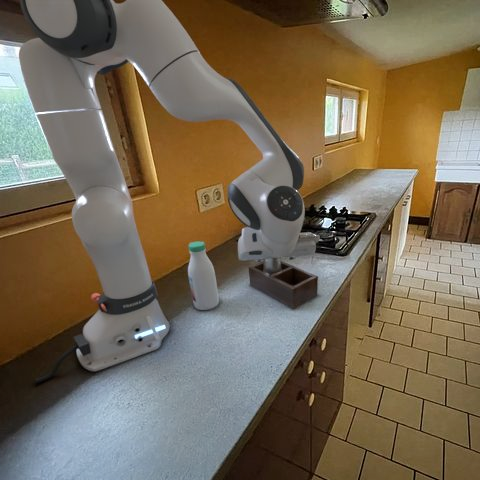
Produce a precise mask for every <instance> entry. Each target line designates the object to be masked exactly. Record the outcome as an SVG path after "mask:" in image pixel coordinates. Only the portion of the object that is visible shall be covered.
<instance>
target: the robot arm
mask: <svg viewBox="0 0 480 480" xmlns="http://www.w3.org/2000/svg"><path fill="white" fill-rule="evenodd" d="M19 4H20V9H21V12H22V14H23V17H24V19H25V20H26V23H27V24H28V26H29V28H30V29H31V30H32V31H33V33H34V34H35V35H36V36H37V37H34V38H31V39H29V40H27V41H26V42H24V43H23V44H22V45H21V46H20V49H19V51H18V60H19V65H20V69H21V70H20V71H21V74H22V78H23V83H24V86H25V89H26V93H27V96H28V98H29V101H30V104H31V107H32V110H33V112H34V114H35V117H36V120H37V122H38V125H39V127H40V129H41V132H42V134H43V137H44V139H45V141H46V144H47V146H48V149H49V151H50V153H51V156H52V159H53V161H54V162H55V164H56V165H57V166H58V168H59V170H60V171H61V173H62V175H63V176H64V178H65V180H66V181H67V183H68V185H69V188H70V189H71V191H72V194H73V195H74V198H75V203H74V204H73V206H72V209H71V221H72V225H73V228H74V231H75V233H76V235H77V236H78V238H79V240H80V242H81V244H82V245H83V248H84V249H85V251H86V253H87V255H88V256H89V258H90V260H91V262H92V264H93V266H94V269H95V272H96V275H97V278H98V280H99V282H100V286H101V288H102V291H103V292H102V293H101V294H100V293H98V292H94V293H93V294H91V296H90V299H91V300H92V302H93V303H95V304H97V306H98V310H97V311H96V312H95V314H93V316H92V317H91V318H90V319H89V320H88V321H87V322H86V323H85V324H84V326H83V328H82V333H79V334H78V335H75V336H73V340H74V342H75V343H74V344H75V345H74V346H72V347H71V348H69V349H68V350H66V351H65V352H64V353H63V354H62V355H61V356H60V357H59V358H58V359H57V360H56V361H55V363H54V365H53V367H52V369H51V370H50V372H48V373H47V374H46V375H43V376H40V377H38V378H36V379H34V381H35V383H36V384H39V383H42V382H44V381H47V380H49V379H50V378H51V377H53V376H54V375H55V374H56V373H57V371H58V369H59V368H60V365H61V364H62V363H63V361H64V360H65V359H66V358H68V357H69V356H70V355H72V354H73V353H74V352H75V351H76V356H77V360H78V362H79V364H80V366H82V367H83V368H84V369H86V370H87V371H90V372H98V371H102V370H105V369H108V368H109V367H112V366H115V365H118V364H121V363H123V362H126V361H129V360H132V359H134V358H137V357H140V356H143V355H145V354H147V353H151V352H153V351H156V350H158V349H160V347H161V344H162V342H163V339H165V337H166V336H167V335H168V333H169V331H170V328H171V326H170V322H169V321H168V319H167V318H166V316H165V315H164V312H163V311H162V308H161V306H160V304H159V294H158V291H157V287H156V285H155V282H154V281H153V280H152V278H151V273H150V270H149V265H148V263H147V258H146V254H145V251H144V248H143V245H142V242H141V238H140V234H139V232H138V228H137V224H136V219H135V213H134V204H133V200H132V197H131V194H130V191H129V187H128V185H127V182H126V178H125V176H124V173H123V170H122V168H121V164H120V162H119V159H118V156H117V153H116V149H115V146H114V144H113V141H112V138H111V134H110V131H109V128H108V124H107V121H106V119H105V114H104V112H103V110H102V106H101V103H100V99H99V96H98V93H97V90H96V85H95V84H96V83H95V80H96V76H97V74H98V75H99V76H100V75H101V76H105V75H107V74H109V73H110V72H112V71H114V70H117V69H119V68H122V67H123V66H125V65H126V64H128V63H130V64H131V65H132V66H133V67H134V69H136V70H137V72H138V74H139V75H140V76H141V77H142V79H143V81H144V82H145V83H146V85H147V86H148V88H149V89H150V91H151V93H152V94H153V95H154V97H155V98H156V99H157V101H158V102H159V103H160V105H161V106H162V107H163V108H164V109H165V111H166V112H167V113H168V114H169V115H171V116H172V117H174V118H176V119H178V120H180V121H184V122H187V123H188V122H190V123H203V122H210V121H216V120H217V121H218V120H227V121H230V122H233V123H235V124H236V125H238V126H239V127H240V128H241V129H242V131H244V133H245V134H246V136H248V138H249V139H250V140H251V142H252V143H253V144H254V145H255V146H256V148H257V149H258V150H259V151H260V153H261V154H262V159H261V160H259V161H258V162H256V163H255V164H254V165H253V166H251V167H250V168H249V169H248V170H245V171H244V172H243V173H241V174H240V175H238V176H237V177H236V178H235V179H234V180H232V181H231V182H230V183H228V185H227V191H226V192H227V194H226V195H227V202H228V205H229V208H230V210H231V212H232V214H233V215H234V216H235V217H236V219H238V221H239V222H241V223H242V224H243V225H244V226H246V227H243V228H241V236H240V237H238V241H237V256H238V260H239V261H242V262H244V261H254V262H255V263H260V262H262V260H264V259H269V258H280V259H281V258H288V259H289V260H291V261H292V260H295V259H296V258H298V257H303V256H312V255H315V253H316V250H317V243H319V241H320V239H321V236H320V235H319V234H315V233H314V232H301V231H302V228H303V224H304V220H305V214H306V210H305V202H304V199H303V197H302V195H301V193H300V192H299V191H298V190H300V189H301V188H302V187H303V184H304V178H305V166H304V164H303V161H302V160H301V158H300V157H299V156H298V154H297V153H295V152H294V150H293V149H292V148H290V147H289V145H288V144H286V142H285V141H284V140H283V139H282V137H281V136H280V134H279V133H278V132H277V131H276V129H274V127H273V126H272V124H271V123H270V121H269V120H268V119H267V118H266V116H265V115H264V114H263V112H262V111H261V109H260V108H259V107H258V106H257V104H256V103H255V102H254V101H253V99H252V98H251V97H250V96H249V95H248V93H247V92H246V90H244V88H243V87H242V86H241V85H240V84H239V83H238V82H237V81H236V80H234V78H229V77H224V76H223V75H222V74H220V73H218V72H217V71H216V70H215V69H214V68H213V67H211V66H210V64H209V63H208V62H207V61H206V60H205V58H204V57H203V56H202V54H201V52H200V51H199V49H198V47H197V46H196V44H195V42H194V41H193V39H192V38H191V37H190V35H189V33H188V32H187V30H186V29H185V27H183V25H182V23H181V22H180V21H179V19H178V18H177V17H176V16H175V15H174V13H173V12H172V10H171V9H170V8H169V7H168V6H167V5H166V4H165V2H164V1H163V0H124V1H123V2H120V3H118V2H116V1H115V0H19Z"/></svg>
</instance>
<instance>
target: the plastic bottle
mask: <svg viewBox="0 0 480 480" xmlns="http://www.w3.org/2000/svg"><path fill="white" fill-rule="evenodd" d="M280 260H281V258H269V259H263V261H264V270H263V272H264V273H266V274H268V275H273V274H275V273H277V272H280V271H282V269H281V263H280Z"/></svg>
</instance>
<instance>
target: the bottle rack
mask: <svg viewBox="0 0 480 480" xmlns="http://www.w3.org/2000/svg"><path fill="white" fill-rule="evenodd" d="M280 263H281V269H282V271H280V272H277V273H275V274H273V275H268V274H266V273H264V272H263V270H264V260H263V261H261V262H257V263H256V264H254V265H251V266H248V274H249V275H248V276H249V286H250V287H252V288H254V289H255V290H257V291H259V292H261V293H263V294H264V295H267V296H268V297H270V298H272V299H273V300H275V301H276V302H279V303H281V304H282V305H284V306H286V307H288V308H290V309H291V310H295V309H297V308H298V307H300V306H302V305H304V304H306V303H307V302H309V301H311V300H312V299H315V297H317V296H318V291H319V290H318V285H319V276H318V275H316V274H313V273H311V272H309V271H306V270H305V269H302V268H300V267H297V266H294V265H293V264H290V263H287V262H285V261H283V260H281V259H280Z"/></svg>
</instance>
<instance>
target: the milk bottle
mask: <svg viewBox="0 0 480 480" xmlns="http://www.w3.org/2000/svg"><path fill="white" fill-rule="evenodd" d="M187 247H188V252H189V254H190V259H189V262H188V266H187V275H188V277H187V278H188V281H189V288H190V292H191V298H192V304H193V306H194V308H195V309H197V310H200V311H209V310H212V309H214V308H216V307H217V306H218V304H219V302H220V299H219V297H220V296H219V291H218V285H217V284H218V283H217V278H216V272H215V268H214V265H213V263H212V261H211V260H210V259H209V257H208V255H207V253H206V251H207V249H206V244H205V242H204V241H200V240H198V241H192V242H189V244H188V245H187Z"/></svg>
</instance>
